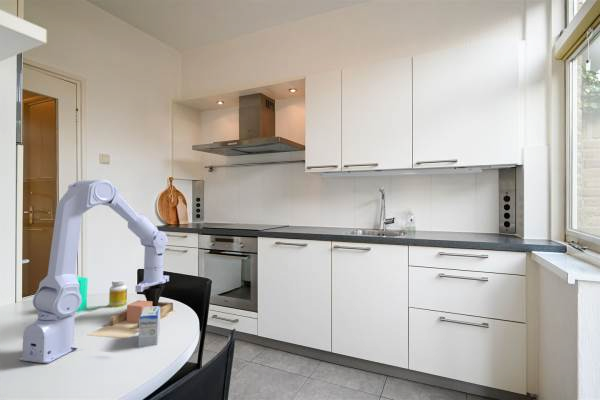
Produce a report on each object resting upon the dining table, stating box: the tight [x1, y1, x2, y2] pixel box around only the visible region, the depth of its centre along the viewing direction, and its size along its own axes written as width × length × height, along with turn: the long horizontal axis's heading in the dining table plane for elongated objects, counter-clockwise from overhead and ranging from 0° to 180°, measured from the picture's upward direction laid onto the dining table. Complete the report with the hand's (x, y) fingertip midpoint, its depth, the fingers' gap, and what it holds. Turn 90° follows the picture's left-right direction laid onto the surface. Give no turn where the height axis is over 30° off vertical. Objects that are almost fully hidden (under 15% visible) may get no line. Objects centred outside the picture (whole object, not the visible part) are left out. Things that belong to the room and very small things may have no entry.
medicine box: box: [137, 306, 161, 348], centre depth 82 cm, size 8×4×9 cm, turn 21°
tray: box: [87, 301, 175, 340], centre depth 94 cm, size 23×12×4 cm, turn 170°
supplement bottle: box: [108, 278, 128, 308], centre depth 109 cm, size 5×5×10 cm
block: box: [126, 299, 152, 323], centre depth 96 cm, size 5×5×5 cm
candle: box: [75, 274, 88, 313], centre depth 107 cm, size 6×6×12 cm
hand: (152, 308), depth 102 cm, fingers closed
